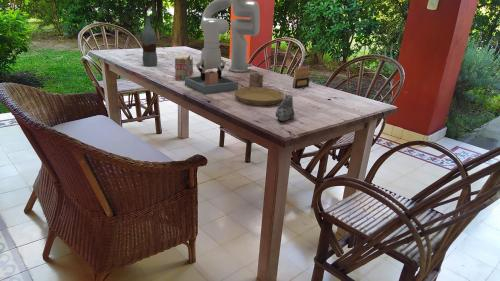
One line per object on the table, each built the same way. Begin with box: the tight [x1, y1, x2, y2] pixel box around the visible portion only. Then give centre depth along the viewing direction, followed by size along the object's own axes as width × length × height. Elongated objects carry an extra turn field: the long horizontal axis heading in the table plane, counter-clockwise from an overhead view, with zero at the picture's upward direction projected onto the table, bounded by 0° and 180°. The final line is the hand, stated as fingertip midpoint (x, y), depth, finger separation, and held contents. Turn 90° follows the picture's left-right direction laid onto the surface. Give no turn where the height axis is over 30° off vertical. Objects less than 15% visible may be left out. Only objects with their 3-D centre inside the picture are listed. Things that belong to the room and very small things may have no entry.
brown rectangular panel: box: [292, 64, 310, 89], centre depth 202 cm, size 11×2×12 cm, turn 127°
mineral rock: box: [275, 94, 296, 122], centre depth 153 cm, size 13×11×10 cm
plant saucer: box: [233, 86, 286, 106], centre depth 178 cm, size 24×24×3 cm
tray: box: [184, 75, 239, 95], centre depth 193 cm, size 20×20×4 cm
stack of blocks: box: [174, 53, 194, 82], centre depth 212 cm, size 21×6×12 cm, turn 179°
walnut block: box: [248, 72, 264, 88], centre depth 198 cm, size 5×5×7 cm
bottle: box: [140, 15, 158, 68], centre depth 230 cm, size 9×9×30 cm
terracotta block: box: [204, 70, 218, 86], centre depth 192 cm, size 5×5×7 cm
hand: (211, 79), depth 192 cm, fingers open, 9 cm apart
